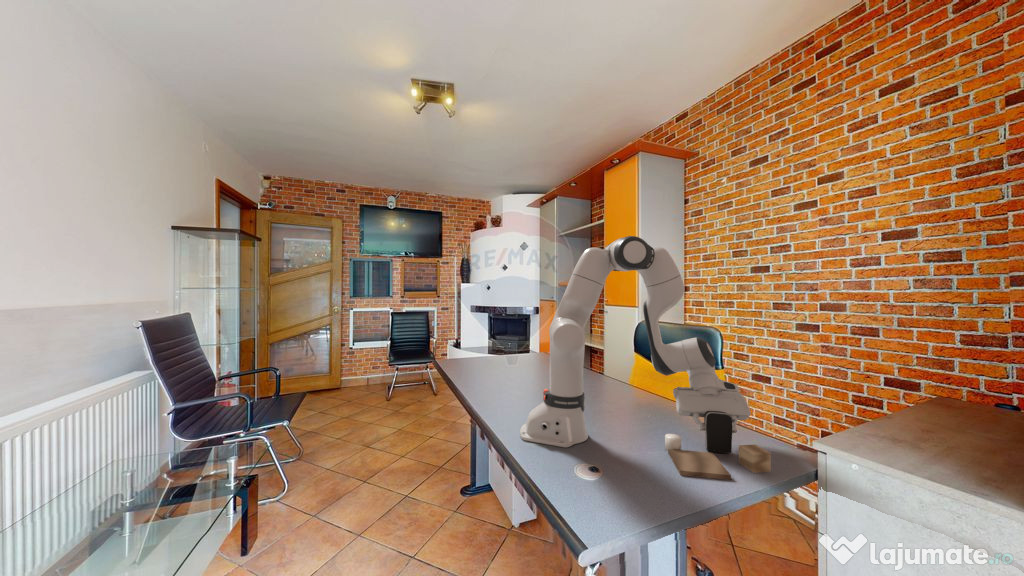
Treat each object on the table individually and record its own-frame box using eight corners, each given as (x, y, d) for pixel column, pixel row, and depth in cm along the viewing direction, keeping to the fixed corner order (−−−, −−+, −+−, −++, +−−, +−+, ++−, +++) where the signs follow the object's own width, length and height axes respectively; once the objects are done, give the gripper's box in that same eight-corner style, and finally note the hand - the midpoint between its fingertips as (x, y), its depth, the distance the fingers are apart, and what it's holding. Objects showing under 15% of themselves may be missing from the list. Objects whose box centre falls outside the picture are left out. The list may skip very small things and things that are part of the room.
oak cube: (752, 472, 89) (752, 453, 89) (738, 463, 94) (738, 445, 94) (770, 472, 90) (770, 453, 90) (755, 462, 95) (755, 444, 95)
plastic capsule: (667, 452, 100) (667, 439, 100) (663, 446, 105) (663, 433, 105) (683, 454, 100) (683, 440, 100) (678, 447, 104) (678, 434, 104)
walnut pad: (680, 475, 88) (680, 470, 88) (668, 453, 100) (668, 448, 100) (730, 479, 86) (730, 475, 86) (712, 456, 98) (712, 452, 98)
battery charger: (728, 448, 102) (728, 410, 102) (733, 454, 98) (733, 415, 98) (702, 445, 104) (702, 408, 104) (706, 451, 100) (706, 412, 100)
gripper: (673, 381, 110) (682, 423, 100) (743, 385, 106) (760, 429, 97) (670, 391, 114) (678, 432, 105) (737, 395, 110) (752, 438, 101)
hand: (718, 431), depth 101 cm, fingers closed on battery charger, 7 cm apart
